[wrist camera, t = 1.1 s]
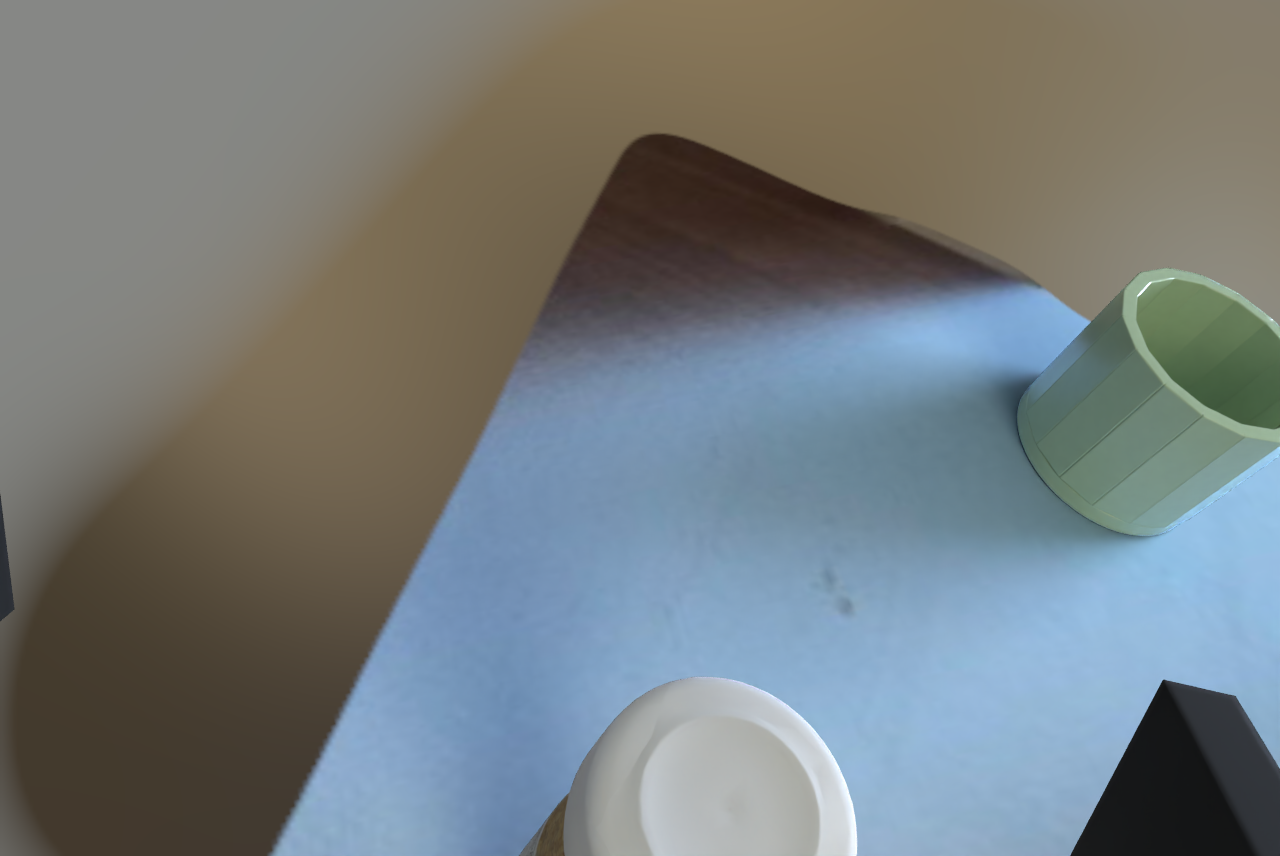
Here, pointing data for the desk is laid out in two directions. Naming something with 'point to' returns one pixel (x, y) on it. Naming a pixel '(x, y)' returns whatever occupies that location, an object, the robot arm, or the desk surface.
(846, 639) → the desk surface
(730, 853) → the sprinkles bottle
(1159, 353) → the holder
